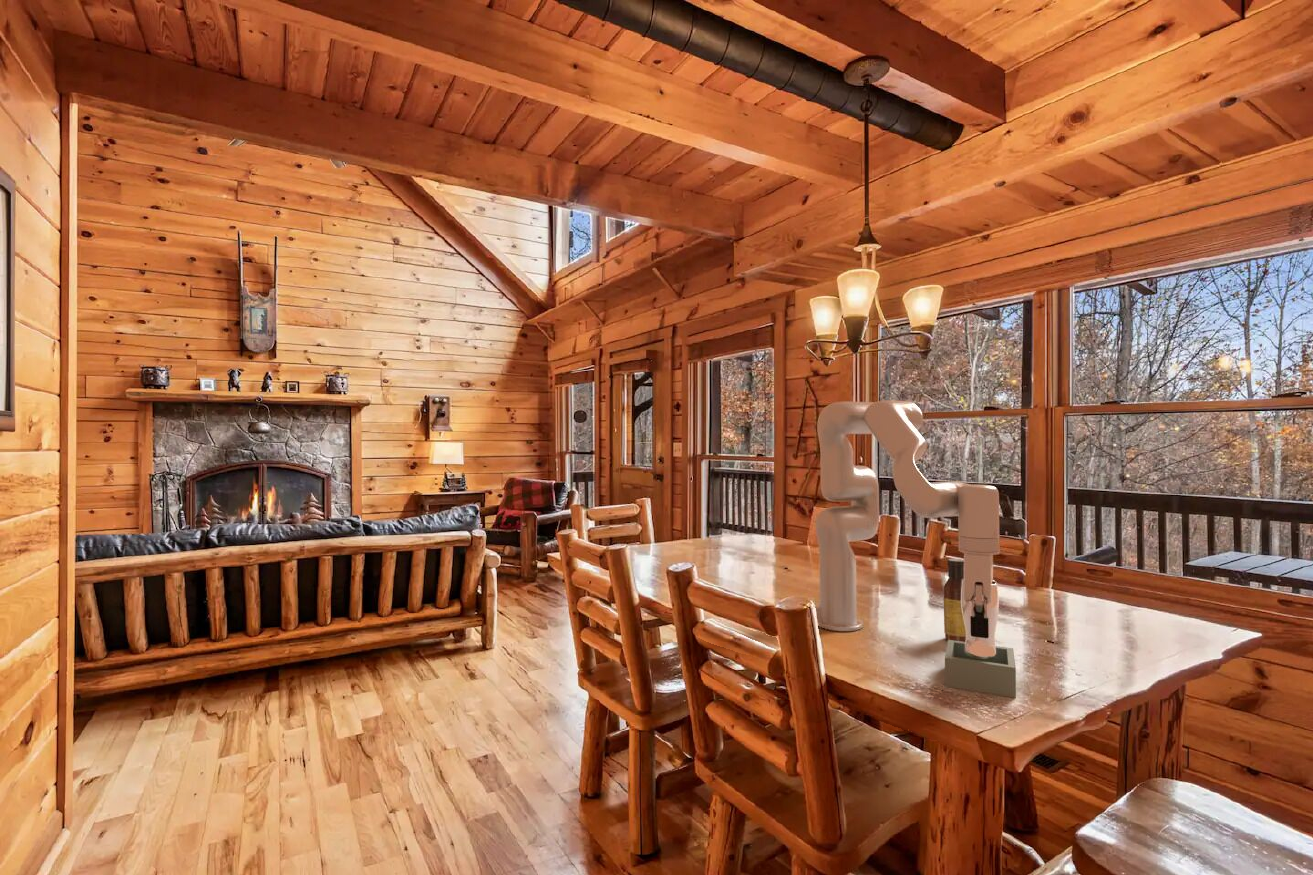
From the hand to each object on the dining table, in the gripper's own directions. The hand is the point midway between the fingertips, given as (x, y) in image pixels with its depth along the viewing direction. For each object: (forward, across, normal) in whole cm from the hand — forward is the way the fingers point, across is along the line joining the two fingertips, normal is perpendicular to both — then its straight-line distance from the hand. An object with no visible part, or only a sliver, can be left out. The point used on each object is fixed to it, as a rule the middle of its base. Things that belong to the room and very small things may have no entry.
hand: (979, 631), depth 128 cm
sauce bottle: (+10, -26, -5) cm, 29 cm away
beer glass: (+5, 0, 0) cm, 5 cm away
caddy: (+10, 0, 0) cm, 10 cm away
